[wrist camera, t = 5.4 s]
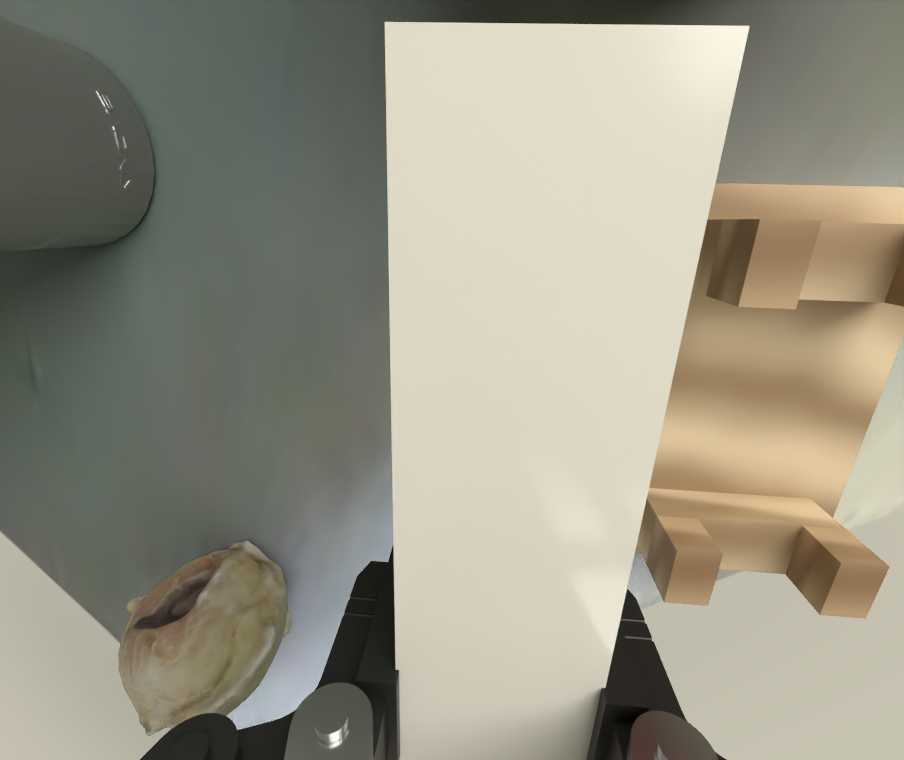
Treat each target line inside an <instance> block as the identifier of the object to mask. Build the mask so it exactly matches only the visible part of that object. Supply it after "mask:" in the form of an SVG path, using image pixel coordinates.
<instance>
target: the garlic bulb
mask: <svg viewBox="0 0 904 760" xmlns="http://www.w3.org/2000/svg"><path fill="white" fill-rule="evenodd" d="M287 596H288V595H287V588H286V583H285V580H284V576H283V570H282V568H281V567H280V566H278V565H277V564H276V563H275V562H273V561H271V560H269V559H268V558H267V557H266V556H265V555H264V554H263V553H262V552H261V551H260V550H259V549H258V548H257V547H256V546H254V545H253V544H251V543H250V542H249V541H244V542H242V543H241V542H236V543H234V544H233V545H232V546H230V547H229V548H227V549H223V550H217V551H214V552H213V553H210V554H208V555H204V556H201V557H199V558H196V559H194V560H192V561H190V562H188V563H186V564H185V565H184V566H182V567H181V568H179V569H178V570H176V571H175V572H174V573H172V574H171V575H169V576H167V577H166V578H164V579H163V580H162V581H160V582H159V583H158V584H157V585H156V586H155V587H154V588H153V589H152V590H151V591H150V592H149V593H148V595H147V596H146V595H142V596H140V597H137V598H134V599H132V600H131V601H129V603H128V604H127V610H128V612H130V613H132V614H131V616H130V618H129V620H128V622H127V625H126V627H125V630H124V633H123V636H122V639H121V644H120V649H119V672H120V676H121V679H122V682H123V686H124V688H125V690H126V692H127V694H128V696H129V698H130V700H131V701H132V703H133V705H134V707H135V709H136V711H137V712H138V714H139V717H140V723H141V724H142V725H143V727H144V728H145V729H146V734H147V735H148V736H151V735H152V734H154V733H156V732H158V731H160V730H162V729H164V728H167V727H169V728H171V729H172V728H174V727H175V726H177V725H178V724H180V723H181V722H183V721H185V720H187V719H189V718H191V717H194V716H197V715H200V714H205V713H218V714H222V715H224V716H226V715H227V714H229V713H230V712H231V711H233V710H234V709H235V708H237V707H238V706H239V705H240V704H241V703H242V702H243V701H245V700H246V699H247V698H248V697H249V696H250V695H251V693H252V692H253V691H254V690H255V689H256V688H257V687H258V685H259V684H260V682H261V681H262V679H263V678H264V676H265V674H266V672H267V671H268V669H269V667H270V665H271V663H272V661H273V659H274V657H275V654H276V652H277V650H278V648H279V645H280V643H281V640H282V638H283V637H284V636H286V635H287V634H288V633H289V630H290V627H291V615H290V614H289V613H288V612H287V611H288V603H287Z"/></svg>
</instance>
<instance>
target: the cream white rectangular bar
mask: <svg viewBox="0 0 904 760" xmlns="http://www.w3.org/2000/svg"><path fill="white" fill-rule="evenodd" d="M748 31H749V26H709V25H618V24H527V23H437V22H385V67H386V127H387V187H388V247H389V307H390V366H391V426H392V486H393V546H394V606H395V666H396V670H399V700H400V759H399V760H586V759H587V754H588V750H589V745H590V740H591V736H592V731H593V726H594V722H595V717H596V712H597V708H598V703H599V698H600V694H601V689H602V688H606V683H607V678H608V674H609V669H610V665H611V660H612V655H613V651H614V646H615V642H616V637H617V632H618V628H619V623H620V619H621V614H622V610H623V605H624V600H625V596H626V591H627V587H628V582H629V577H630V573H631V568H632V564H633V559H634V554H635V550H636V545H637V541H638V536H639V531H640V527H641V522H642V518H643V513H644V509H645V504H646V499H647V495H648V490H649V486H650V481H651V476H652V472H653V467H654V463H655V458H656V453H657V449H658V444H659V440H660V435H661V430H662V426H663V421H664V417H665V412H666V408H667V403H668V398H669V394H670V389H671V385H672V380H673V375H674V371H675V366H676V362H677V357H678V352H679V348H680V343H681V339H682V334H683V329H684V325H685V320H686V316H687V311H688V307H689V302H690V297H691V293H692V288H693V284H694V279H695V274H696V270H697V265H698V261H699V256H700V251H701V247H702V242H703V238H704V233H705V228H706V224H707V219H708V215H709V210H710V206H711V201H712V196H713V192H714V187H715V183H716V178H717V173H718V169H719V164H720V160H721V155H722V150H723V146H724V141H725V137H726V132H727V127H728V123H729V118H730V114H731V109H732V105H733V100H734V95H735V91H736V86H737V82H738V77H739V72H740V68H741V63H742V59H743V54H744V49H745V45H746V40H747V36H748Z"/></svg>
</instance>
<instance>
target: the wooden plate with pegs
mask: <svg viewBox="0 0 904 760" xmlns="http://www.w3.org/2000/svg"><path fill="white" fill-rule="evenodd" d="M903 336H904V187H867V186H820V185H774V184H727V183H715V187H714V192H713V196H712V201H711V206H710V210H709V215H708V219H707V224H706V228H705V233H704V238H703V242H702V247H701V251H700V256H699V261H698V265H697V270H696V274H695V279H694V284H693V288H692V293H691V297H690V302H689V307H688V311H687V316H686V320H685V325H684V329H683V334H682V339H681V343H680V348H679V352H678V357H677V362H676V366H675V371H674V375H673V380H672V385H671V389H670V394H669V398H668V403H667V408H666V412H665V417H664V421H663V426H662V430H661V435H660V440H659V444H658V449H657V453H656V458H655V463H654V467H653V472H652V476H651V481H650V486H649V490H648V495H647V499H646V504H645V509H644V513H643V518H642V522H641V527H640V531H639V536H638V541H637V545H636V550H635V553H639V554H642V555H643V557H644V560H645V562H646V564H647V566H648V568H649V570H650V573H651V575H652V577H653V579H654V581H655V583H656V585H657V588H658V590H659V592H660V594H661V596H662V598H663V601H664V602H669V603H681V604H694V605H706V606H707V605H708V604H709V600H710V597H711V593H712V590H713V587H714V584H715V580H716V577H717V573H718V570H719V569H727V570H740V571H754V572H767V573H779V574H786V575H787V577H788V578H789V579H790V580H791V581H792V582H793V584H794V585H795V586H796V587H797V588H798V590H799V591H800V592H801V593H802V594H803V595H804V597H805V598H806V599H807V600H808V601H809V603H810V604H811V605H812V606H813V607H814V609H815V610H816V611H817V612H818V613H819V614H820V615H829V616H841V617H853V618H866V616H867V614H868V612H869V610H870V608H871V606H872V603H873V601H874V599H875V597H876V595H877V593H878V591H879V588H880V586H881V584H882V582H883V580H884V578H885V575H886V573H887V571H888V569H889V566H888V565H887V564H886V563H885V562H883V561H882V560H881V559H880V558H879V557H878V556H877V555H875V554H874V553H873V552H872V551H871V550H870V549H868V548H867V547H866V546H865V545H864V544H863V543H861V542H860V541H859V540H858V539H857V538H855V537H854V536H853V535H852V534H851V533H850V532H849V531H847V530H846V529H845V528H844V527H843V526H842V525H840V524H839V523H838V522H837V521H836V520H835V519H833V516H834V513H835V511H836V508H837V506H838V503H839V501H840V498H841V495H842V493H843V490H844V488H845V485H846V483H847V480H848V477H849V475H850V472H851V470H852V467H853V465H854V462H855V459H856V457H857V454H858V452H859V449H860V447H861V444H862V441H863V439H864V436H865V434H866V431H867V429H868V426H869V423H870V421H871V418H872V416H873V413H874V411H875V408H876V406H877V403H878V400H879V398H880V395H881V393H882V390H883V388H884V385H885V382H886V380H887V377H888V375H889V372H890V370H891V367H892V364H893V362H894V359H895V357H896V354H897V352H898V349H899V346H900V344H901V341H902V339H903Z"/></svg>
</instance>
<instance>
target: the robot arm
mask: <svg viewBox="0 0 904 760" xmlns="http://www.w3.org/2000/svg"><path fill="white" fill-rule="evenodd" d="M153 183H154V163H153V152H152V148H151V144H150V141H149V137H148V134H147V130H146V127H145V125H144V123H143V121H142V119H141V117H140V114H139V112H138V110H137V108H136V106H135V105H134V103H133V102H132V100H131V99H130V97H129V96H128V94H127V93H126V91H125V90H124V88H123V87H122V86H121V85H120V83H119V82H118V81H117V80H116V79H115V78H114V77H113V76H112V75H111V74H110V73H109V72H108V71H107V70H106V69H105V68H104V67H103V66H102V65H100V64H99V63H98V62H96V61H95V60H94V59H92V58H91V57H90V56H88V55H87V54H85V53H83V52H81V51H79V50H77V49H75V48H73V47H71V46H69V45H67V44H65V43H62V42H60V41H58V40H55V39H53V38H50V37H48V36H46V35H43V34H41V33H39V32H36V31H34V30H31V29H29V28H27V27H24V26H22V25H20V24H17V23H15V22H12V21H10V20H8V19H5V18H3V17H1V16H0V251H9V250H32V249H48V248H65V247H81V246H97V245H102V244H107V243H111V242H114V241H116V240H118V239H120V238H122V237H124V236H126V235H127V234H128V233H129V232H130V231H131V230H132V229H133V228H135V227H136V226H137V225H138V223H139V222H140V220H141V219H142V217H143V215H144V214H145V212H146V211H147V208H148V205H149V202H150V199H151V196H152V193H153ZM644 620H645V619H644V617H643V614H642V612H641V610H640V607H639V605H638V602H637V600H636V598H635V597H634V596H633V594H632V593H631V592H630V591H629V590H628V589H627V591H626V596H625V600H624V605H623V610H622V614H621V619H620V623H619V628H618V632H617V637H616V642H615V646H614V651H613V655H612V660H611V665H610V669H609V674H608V678H607V683H606V688H602V689H601V694H600V698H599V703H598V708H597V712H596V717H595V722H594V726H593V731H592V736H591V740H590V745H589V750H588V754H587V759H586V760H726V759H724V758H723V757H721V756H720V755H718V754H717V753H716V752H715V751H714V750H713V748H712V747H711V745H710V744H709V742H708V741H707V740H706V739H705V737H704V736H703V735H702V734H701V733H700V732H699V731H698V730H697V729H696V728H695V727H693V726H692V725H691V724H690V723H688V722H687V720H686V719H685V717H684V715H683V712H682V710H681V708H680V705H679V703H678V701H677V698H676V696H675V693H674V691H673V688H672V686H671V683H670V681H669V678H668V676H667V673H666V671H665V669H664V666H663V664H662V661H661V659H660V656H659V654H658V651H657V649H656V646H655V644H654V642H652V637H651V634H650V632H649V629H648V627H647V624H645V622H644ZM399 759H400V700H399V670H396V666H395V606H394V546H393V547H392V551H391V554H390V558H389V562H376V561H371V562H370V563H369V564H368V565H367V566H366V567H365V568H364V570H363V571H362V572H361V573H360V574H359V575H358V576H357V578H356V581H355V584H354V587H353V590H352V592H351V595H350V600H349V601H348V604H347V607H346V609H345V614H344V616H343V618H342V621H341V624H340V626H339V629H338V632H337V635H336V638H335V641H334V643H333V646H332V649H331V652H330V655H329V658H328V660H327V663H326V666H325V669H324V672H323V675H322V677H321V680H320V682H319V684H318V686H317V688H316V689H315V691H314V692H312V693H311V694H310V695H309V696H308V697H307V698H305V699H304V700H303V702H302V703H301V704H300V705H299V707H298V709H297V710H295V711H294V712H292V713H290V714H289V715H287V716H285V717H283V718H280V719H277V720H274V721H271V722H267V723H263V724H260V725H256V726H252V727H248V728H244V729H241V730H237V729H236V726H235V725H234V723H233V721H232V720H230V719H229V718H228V717H226V716H224V715H222V714H218V713H205V714H200V715H197V716H194V717H191V718H189V719H187V720H185V721H183V722H181V723H180V724H178V725H177V726H175V727H174V728H172V729H171V730H170V731H169V732H168V733H166V734H165V735H164V736H163V737H162V738H161V739H160V740H159V741H158V742H157V743H156V744H155V745H154V746H153V747H152V748H151V749H150V750H149V751H148V752H147V753H146V754H145V755H144V756H143V757H142V758H141V759H140V760H399Z"/></svg>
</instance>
